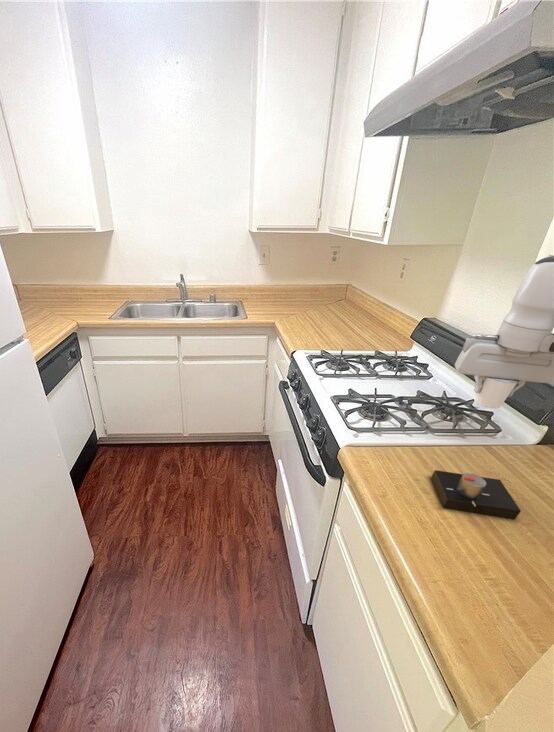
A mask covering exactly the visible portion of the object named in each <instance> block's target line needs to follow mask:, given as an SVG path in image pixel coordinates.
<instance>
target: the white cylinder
mask: <svg viewBox="0 0 554 732" xmlns="http://www.w3.org/2000/svg"><path fill="white" fill-rule="evenodd" d="M481 382H482V387H483V388H482V391H481V393H475V396H474V398H473V399H474V402H475V403H476V404H477V405H480V406H482V407H484V408H488V409H500V408H501V407H502V406H503V404H504V403H505V401H506V400H507V398H508V395H509V394H510V392H511V391H512V390H513V388H514V387H515V385H516V384H517V382H518V380H513V379H504V378H494V377H485V379H484V380H481Z"/></svg>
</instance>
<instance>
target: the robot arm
mask: <svg viewBox="0 0 554 732" xmlns="http://www.w3.org/2000/svg"><path fill="white" fill-rule="evenodd" d="M553 330H554V255H551V256H546V257H543V258H541V259H539V260H537V261H536V262H534V263H533V264H532V266H531V267H530V268H529V269H528V271H527V272H526V274H525V275H524V277H523V278H522V281H521V282H520V284H519V286H518V288H517V290H516V292H515V294H514V296H513V298H512V305H511V308H510V309H509V311H508V313H507V314H506V315H505V316H504V318H503V320H502V322H501V324H500V325H499V328H498V330H497V333H496V334H483V333H476V334H474V335H473V334H472V335H470V336H468V337H467V338H466V340H465V341H464V344H463V345H462V350H461V352H460V353H459V355H458V357H457V359H456V361H455V363H454V368H455V369H456V371H457V372H458V374H461V375H468V376H474V377H473V378H474V380H475V386H474V388H473V392H474V393H475V394H476V393H481V391H482V388H483V387H482V382H481V380H484V379H485V377H494V378H504V379H513V380H518V382H517V384H516V385H515V387H514V388H513V390H512V391H511V392H510V394H509V395H508V397H509V398H511V397H512V396H514V393H515V391H517V390H519V389H520V388H522V387H523V386H524V385H525V384H526V382H531V383H539V384H540V383H542V384H551V383H553V382H554V333H553ZM508 397H507V398H508Z"/></svg>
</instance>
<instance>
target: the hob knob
mask: <svg viewBox="0 0 554 732" xmlns="http://www.w3.org/2000/svg"><path fill="white" fill-rule="evenodd" d="M462 474H463V473H462ZM481 477H482V476H480V475H478V474H474V473H471V472H467V473H464V474H463V476H462V478H461V479H460V481H459V483H458V485H457V487H456V490H457V492H458V493H459V494H460V495H462V496H464V497H466V498H469V499H477V498H479V496H480V495H481V493H482V491H483V489H484V488H485V486H486V481H485V480H484V479H483V478H481Z"/></svg>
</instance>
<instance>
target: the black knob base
mask: <svg viewBox="0 0 554 732" xmlns="http://www.w3.org/2000/svg"><path fill="white" fill-rule="evenodd" d="M462 476H463V473H457V472H450V471H443V470H436V469H434V471H433V473H432V475H431V477H430V480H431V483H432V485H433V488H434V490H435V493H436V495H437V498H438V500H439V502H440V505H441V507H442V509H446V510H451V511H456V512H457V511H458V512H463V513H468V514H469V513H470V514H476V515H483V516H488V517H494V518H500V519H508V520H512V521H514V520H515V521H516V518H518V516H519V515H520V513H521V512H522V510H521V509H520V507H519V506H518V504H517V503H516V501H515V500H514V498H513V497H512V495H511V494H510V492H509V491H508V489H507V488H506V487H505V484H504V483H503V482H502V481H501V479H498V478H490V477H485V476H480V477H481V478H483V479H484V480H485V481H486V486H485V488H484V489H483V491H482V493H481V495H480V496H479V498H477V499H469V498H466V497H464V496H462V495H460V494H459V493H458V492H457V490H456V487H457V485H458V483H459V481H460V479H461V478H462Z"/></svg>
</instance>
